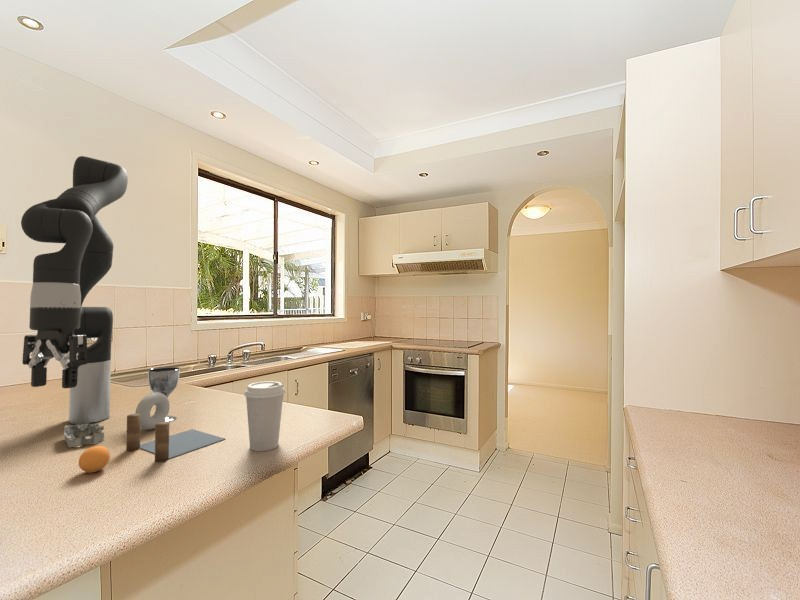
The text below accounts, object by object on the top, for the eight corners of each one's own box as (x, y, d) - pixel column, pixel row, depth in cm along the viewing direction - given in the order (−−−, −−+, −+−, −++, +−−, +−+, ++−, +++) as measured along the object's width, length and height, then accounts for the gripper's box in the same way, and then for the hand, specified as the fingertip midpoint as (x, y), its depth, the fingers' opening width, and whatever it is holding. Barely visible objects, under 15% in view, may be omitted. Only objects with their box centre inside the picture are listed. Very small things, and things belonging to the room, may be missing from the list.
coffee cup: (260, 457, 84) (261, 391, 84) (234, 448, 89) (235, 385, 89) (292, 444, 92) (293, 383, 92) (267, 436, 97) (268, 379, 97)
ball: (73, 473, 75) (74, 448, 75) (102, 464, 79) (103, 440, 80) (85, 479, 73) (85, 453, 73) (114, 469, 77) (115, 445, 77)
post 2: (152, 460, 81) (152, 424, 81) (164, 456, 84) (165, 421, 84) (158, 463, 80) (159, 426, 80) (171, 459, 82) (171, 423, 82)
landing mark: (135, 446, 89) (135, 445, 89) (192, 429, 101) (192, 429, 101) (168, 459, 82) (168, 458, 82) (225, 439, 95) (225, 438, 95)
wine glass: (140, 421, 108) (141, 370, 108) (166, 414, 115) (167, 366, 115) (159, 425, 105) (160, 372, 105) (184, 417, 112) (185, 367, 112)
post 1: (124, 449, 87) (124, 415, 87) (136, 446, 90) (136, 412, 90) (129, 451, 86) (130, 417, 86) (142, 448, 88) (142, 414, 88)
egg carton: (105, 443, 92) (105, 427, 92) (64, 451, 87) (64, 434, 87) (101, 432, 100) (101, 417, 100) (63, 439, 94) (63, 423, 94)
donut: (142, 435, 97) (143, 397, 97) (131, 434, 97) (131, 396, 97) (172, 423, 106) (173, 388, 107) (162, 422, 107) (162, 388, 107)
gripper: (102, 306, 77) (100, 385, 76) (52, 307, 80) (50, 382, 80) (60, 305, 69) (57, 392, 69) (8, 306, 73) (5, 389, 72)
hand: (53, 387), depth 74 cm, fingers open, 8 cm apart
